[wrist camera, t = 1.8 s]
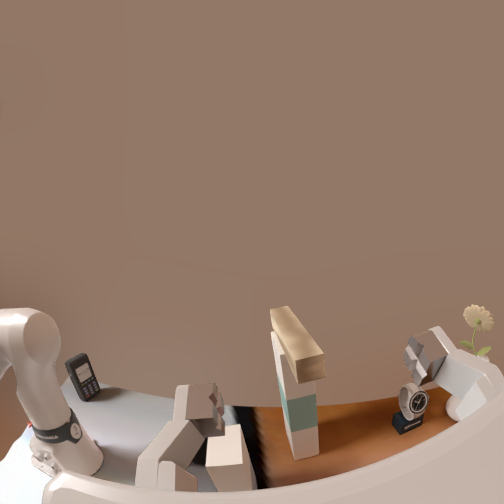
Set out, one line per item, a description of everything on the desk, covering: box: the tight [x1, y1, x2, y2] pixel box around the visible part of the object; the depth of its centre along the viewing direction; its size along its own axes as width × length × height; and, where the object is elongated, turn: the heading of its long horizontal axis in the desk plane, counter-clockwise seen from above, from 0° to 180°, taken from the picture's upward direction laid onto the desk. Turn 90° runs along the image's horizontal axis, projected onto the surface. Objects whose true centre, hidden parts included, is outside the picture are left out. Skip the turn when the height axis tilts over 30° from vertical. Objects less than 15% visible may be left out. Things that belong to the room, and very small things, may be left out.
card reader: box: [65, 353, 100, 401], centre depth 69 cm, size 9×4×15 cm, turn 166°
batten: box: [270, 306, 325, 384], centre depth 40 cm, size 4×22×4 cm, turn 4°
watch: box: [392, 382, 429, 435], centre depth 41 cm, size 6×8×11 cm
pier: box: [206, 424, 257, 492], centre depth 32 cm, size 5×9×16 cm, turn 4°
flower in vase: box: [446, 305, 494, 422], centre depth 36 cm, size 13×11×25 cm
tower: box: [271, 331, 319, 460], centre depth 45 cm, size 5×10×26 cm, turn 4°
